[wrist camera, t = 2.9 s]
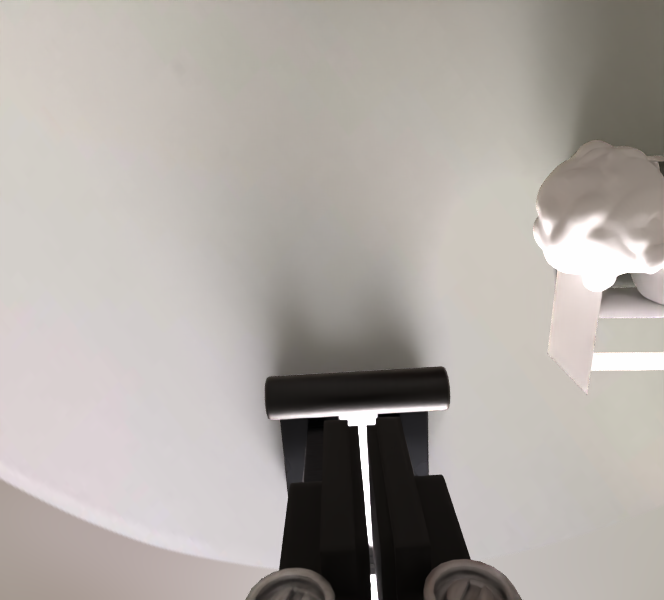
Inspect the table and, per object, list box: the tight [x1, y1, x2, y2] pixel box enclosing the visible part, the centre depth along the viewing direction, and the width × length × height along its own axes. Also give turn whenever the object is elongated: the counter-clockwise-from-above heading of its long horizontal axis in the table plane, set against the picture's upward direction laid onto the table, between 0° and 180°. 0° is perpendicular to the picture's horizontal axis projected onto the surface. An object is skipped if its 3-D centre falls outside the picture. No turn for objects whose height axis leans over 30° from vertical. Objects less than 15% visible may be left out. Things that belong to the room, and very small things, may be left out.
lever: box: [265, 367, 450, 600], centre depth 19 cm, size 13×5×2 cm, turn 4°
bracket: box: [280, 411, 429, 495], centre depth 26 cm, size 6×8×11 cm
